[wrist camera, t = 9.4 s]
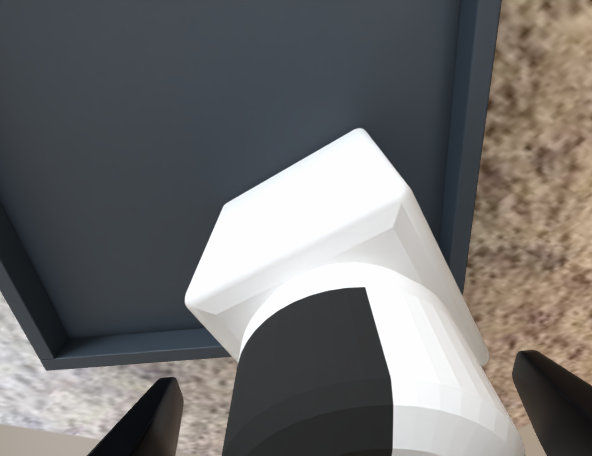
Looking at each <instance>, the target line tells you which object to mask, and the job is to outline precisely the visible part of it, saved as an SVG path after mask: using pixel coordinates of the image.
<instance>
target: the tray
mask: <svg viewBox="0 0 592 456" xmlns="http://www.w3.org/2000/svg"><path fill="white" fill-rule="evenodd" d="M501 2H502V0H0V291H1V293H2V294H3V296H4V298H5V300H6V301H7V303H8V305H9V307H10V308H11V310H12V312H13V314H14V315H15V317H16V319H17V321H18V322H19V324H20V326H21V327H22V329H23V331H24V333H25V334H26V336H27V338H28V340H29V341H30V343H31V345H32V347H33V348H34V350H35V352H36V354H37V355H38V357H39V359H40V360H41V362H42V364H43V366H44V368H45V369H46V370H47V371H48V370H61V369H74V368H88V367H101V366H114V365H128V364H141V363H154V362H168V361H181V360H194V359H207V358H221V357H232V356H231V355H230V354H229V353H228V351H227V350H226V349H225V348H224V347H223V346H222V345H221V344H220V343H219V342H218V341H217V340H216V338H215V337H214V336H213V335H212V334H211V333H210V332H209V331H208V330H207V329H206V328H205V327H204V325H203V324H202V323H201V322H200V321H199V320H198V319H197V318H196V317H195V316H194V315H193V314H192V312H191V311H190V310H189V309H188V308H187V307H186V305H185V295H186V292H187V290H188V287H189V285H190V283H191V280H192V278H193V276H194V273H195V271H196V269H197V266H198V264H199V262H200V259H201V257H202V255H203V252H204V250H205V248H206V245H207V243H208V241H209V238H210V236H211V234H212V231H213V229H214V227H215V224H216V222H217V220H218V217H219V215H220V213H221V211H222V208H223V206H224V205H225V204H226V203H228V202H229V201H231V200H233V199H234V198H236V197H238V196H240V195H241V194H243V193H245V192H247V191H248V190H250V189H252V188H254V187H255V186H257V185H259V184H261V183H262V182H264V181H266V180H267V179H269V178H271V177H273V176H274V175H276V174H278V173H280V172H281V171H283V170H285V169H287V168H288V167H290V166H292V165H293V164H295V163H297V162H299V161H300V160H302V159H304V158H306V157H307V156H309V155H311V154H313V153H314V152H316V151H318V150H320V149H321V148H323V147H325V146H326V145H328V144H330V143H332V142H333V141H335V140H337V139H339V138H340V137H342V136H344V135H346V134H347V133H349V132H351V131H352V130H354V129H357V128H362V129H364V130H365V131H366V132H367V133H368V134H369V136H370V137H371V138H372V140H373V141H374V142H375V143H376V145H377V146H378V147H379V149H380V150H381V151H382V152H383V154H384V155H385V156H386V158H387V159H388V160H389V161H390V163H391V164H392V165H393V167H394V168H395V169H396V170H397V172H398V173H399V174H400V176H401V177H402V178H403V179H404V181H405V182H406V183H407V185H408V186H409V187H410V188H411V190H412V192H413V194H414V196H415V198H416V200H417V203H418V205H419V207H420V209H421V211H422V213H423V215H424V217H425V219H426V221H427V223H428V225H429V228H430V230H431V232H432V234H433V236H434V238H435V240H436V242H437V244H438V246H439V248H440V250H441V253H442V255H443V257H444V259H445V261H446V263H447V265H448V267H449V269H450V271H451V273H452V275H453V278H454V280H455V282H456V284H457V286H458V288H459V290H460V292H461V294H462V296H463V289H464V281H465V274H466V266H467V258H468V251H469V243H470V236H471V228H472V221H473V213H474V206H475V198H476V191H477V183H478V175H479V168H480V160H481V153H482V145H483V138H484V130H485V123H486V115H487V108H488V100H489V92H490V85H491V77H492V70H493V62H494V55H495V47H496V40H497V32H498V25H499V17H500V9H501Z"/></svg>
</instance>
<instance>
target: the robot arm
mask: <svg viewBox="0 0 592 456" xmlns="http://www.w3.org/2000/svg"><path fill="white" fill-rule="evenodd" d="M512 378H513V382H514V384H515V387H516V389H517V391H518V394H519V396H520V398H521V400H522V403H523V405H524V407H525V410H526V412H527V414H528V417H529V419H530V421H531V423H532V426H533V428H534V430H535V433H536V435H537V437H538V439H539V441H540V443H541V445H542V447H543V449H544V451H545V453H546V454H547V456H592V386H591V385H590V384H588V383H586V382H585V381H583V380H582V379H580V378H579V377H577V376H575V375H574V374H572V373H571V372H569V371H568V370H566V369H565V368H563V367H561V366H560V365H558V364H557V363H555V362H554V361H552V360H551V359H549V358H547V357H546V356H544V355H543V354H541V353H540V352H538V351H535V350H526V351H519V352H518V353H517V355H516V359H515V363H514V368H513V372H512ZM183 403H184V402H183V396H182V393H181V390H180V387H179V384H178V382H177V379H176V378H175V377H166V378H160V379H159V380H157V381H156V382H155V384H154V385H153V386H152V387H151V388H150V389H149V390H148V391H147V392H146V393H145V394H144V395H143V396H142V397H141V398H140V400H139V401H138V402H137V403H136V404H135V405H134V406H133V407H132V408H131V409H130V410H129V411H128V412H127V413H126V414H125V416H124V417H123V418H122V419H121V420H120V421H119V422H118V423H117V424H116V425H115V426H114V427H113V428H112V429H111V430H110V432H109V433H108V434H107V435H106V436H105V437H104V438H103V439H102V440H101V441H100V442H99V443H98V444H97V445H96V446H95V448H94V449H93V450H92V451H91V452H90V453H89V454H88V455H87V456H175V454H176V448H177V442H178V436H179V430H180V424H181V418H182V411H183Z"/></svg>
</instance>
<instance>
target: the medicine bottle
mask: <svg viewBox="0 0 592 456" xmlns="http://www.w3.org/2000/svg"><path fill="white" fill-rule="evenodd" d="M185 305H186V307H187V308H188V309H189V310H190V311H191V312H192V314H193V315H194V316H195V317H196V318H197V319H198V320H199V321H200V322H201V323H202V324H203V325H204V327H205V328H206V329H207V330H208V331H209V332H210V333H211V334H212V335H213V336H214V337H215V338H216V340H217V341H218V342H219V343H220V344H221V345H222V346H223V347H224V348H225V349H226V350H227V351H228V353H229V354H230V355H231V356H232V357H233V358H234V359H235V360H236V361H237V362H238V366H237V372H236V377H235V383H234V389H233V395H232V400H231V406H230V412H229V417H228V423H227V429H226V434H225V440H224V446H223V451H222V456H525V450H524V444H523V442H522V439H521V437H520V435H519V432H518V430H517V429H516V427H515V425H514V423H513V422H512V420H511V418H510V416H509V414H508V413H507V411H506V409H505V407H504V406H503V404H502V402H501V400H500V399H499V397H498V395H497V393H496V392H495V390H494V388H493V386H492V385H491V383H490V381H489V379H488V378H487V376H486V374H485V372H484V371H483V369H482V367H481V366H483V365H485V364H486V363H487V362H488V360H489V359H490V357H489V351H488V348H487V346H486V344H485V342H484V340H483V338H482V336H481V334H480V332H479V330H478V328H477V326H476V323H475V321H474V319H473V317H472V315H471V313H470V311H469V309H468V307H467V305H466V303H465V301H464V298H463V296H462V294H461V292H460V290H459V288H458V286H457V284H456V282H455V280H454V278H453V275H452V273H451V271H450V269H449V267H448V265H447V263H446V261H445V259H444V257H443V255H442V253H441V250H440V248H439V246H438V244H437V242H436V240H435V238H434V236H433V234H432V232H431V230H430V228H429V225H428V223H427V221H426V219H425V217H424V215H423V213H422V211H421V209H420V207H419V205H418V203H417V200H416V198H415V196H414V194H413V192H412V190H411V188H410V187H409V186H408V185H407V183H406V182H405V181H404V179H403V178H402V177H401V176H400V174H399V173H398V172H397V170H396V169H395V168H394V167H393V165H392V164H391V163H390V161H389V160H388V159H387V158H386V156H385V155H384V154H383V152H382V151H381V150H380V149H379V147H378V146H377V145H376V143H375V142H374V141H373V140H372V138H371V137H370V136H369V134H368V133H367V132H366V131H365V130H364V129H362V128H357V129H354V130H352V131H351V132H349V133H347V134H346V135H344V136H342V137H340V138H339V139H337V140H335V141H333V142H332V143H330V144H328V145H326V146H325V147H323V148H321V149H320V150H318V151H316V152H314V153H313V154H311V155H309V156H307V157H306V158H304V159H302V160H300V161H299V162H297V163H295V164H293V165H292V166H290V167H288V168H287V169H285V170H283V171H281V172H280V173H278V174H276V175H274V176H273V177H271V178H269V179H267V180H266V181H264V182H262V183H261V184H259V185H257V186H255V187H254V188H252V189H250V190H248V191H247V192H245V193H243V194H241V195H240V196H238V197H236V198H234V199H233V200H231V201H229V202H228V203H226V204H225V205H224V206H223V208H222V211H221V213H220V215H219V217H218V220H217V222H216V224H215V227H214V229H213V231H212V234H211V236H210V238H209V241H208V243H207V245H206V248H205V250H204V252H203V255H202V257H201V259H200V262H199V264H198V266H197V269H196V271H195V273H194V276H193V278H192V280H191V283H190V285H189V287H188V290H187V292H186V295H185Z"/></svg>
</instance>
